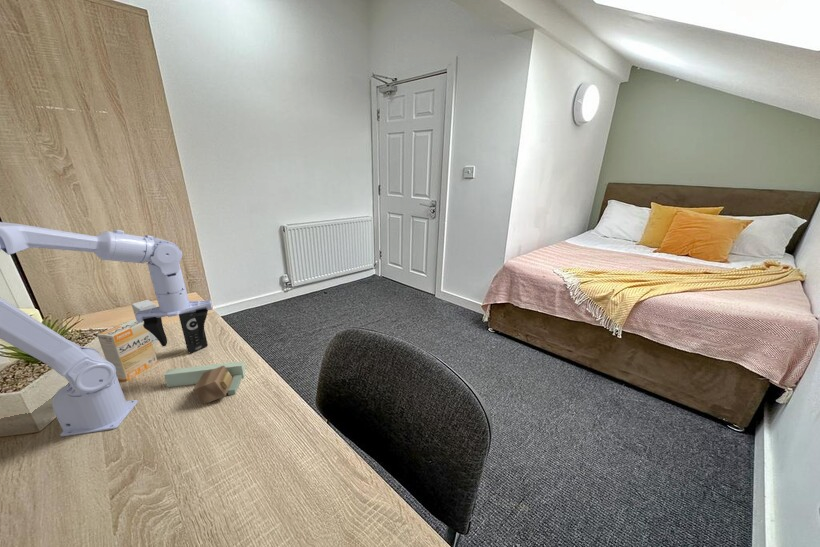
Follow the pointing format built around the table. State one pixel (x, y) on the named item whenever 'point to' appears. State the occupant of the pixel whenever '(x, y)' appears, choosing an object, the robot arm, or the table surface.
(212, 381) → the brown block
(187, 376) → the green l-shaped block
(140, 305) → the skincare box
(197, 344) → the remote control
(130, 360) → the supplement box
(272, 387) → the table surface
